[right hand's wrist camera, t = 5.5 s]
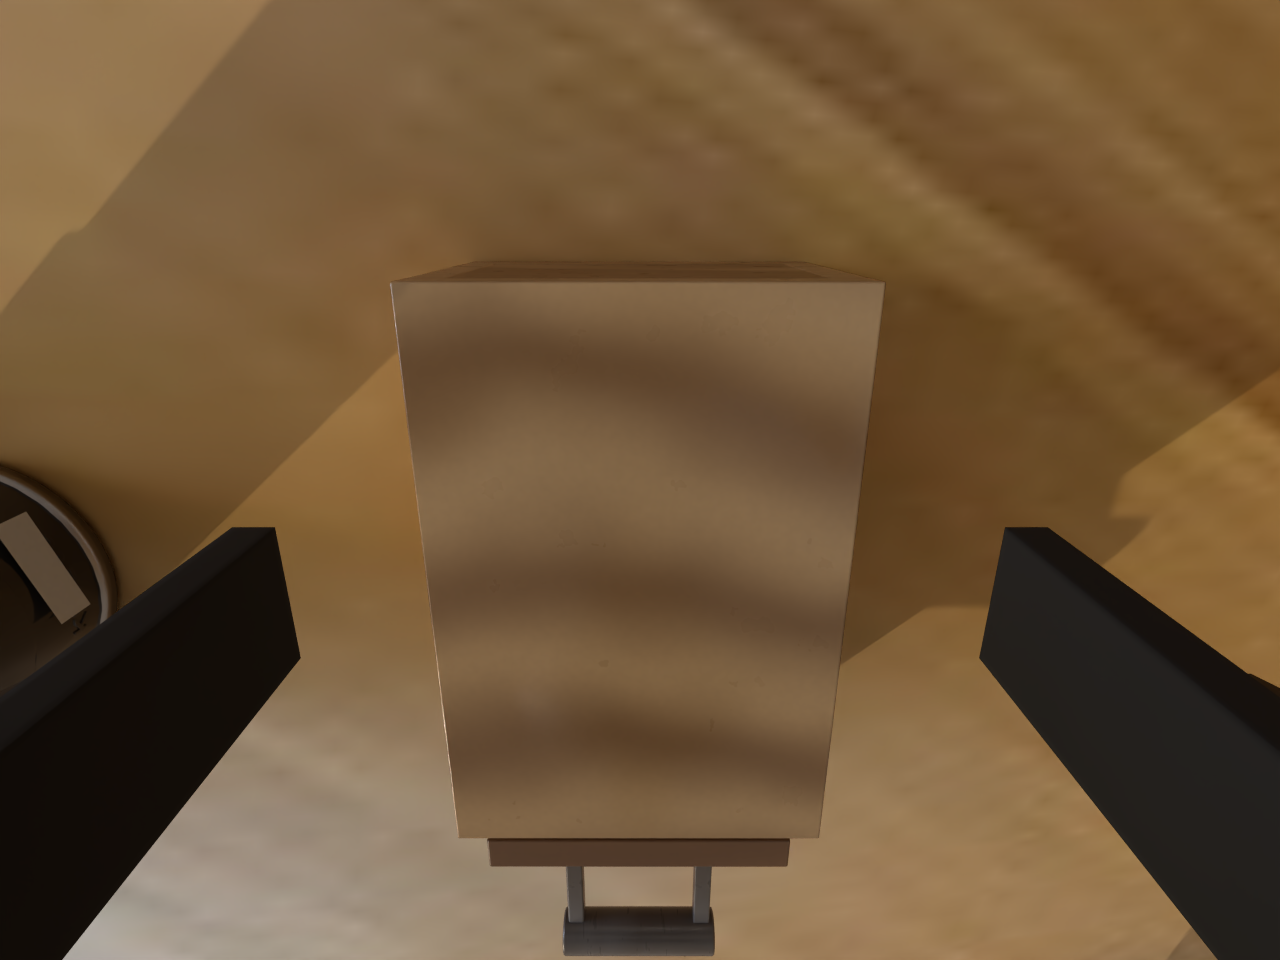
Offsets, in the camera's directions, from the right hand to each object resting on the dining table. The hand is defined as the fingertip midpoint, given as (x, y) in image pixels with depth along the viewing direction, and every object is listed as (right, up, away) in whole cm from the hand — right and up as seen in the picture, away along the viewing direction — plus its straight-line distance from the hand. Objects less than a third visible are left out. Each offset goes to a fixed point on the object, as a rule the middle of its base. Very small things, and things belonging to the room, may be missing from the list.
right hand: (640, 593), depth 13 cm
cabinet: (0, +2, +14) cm, 14 cm away
